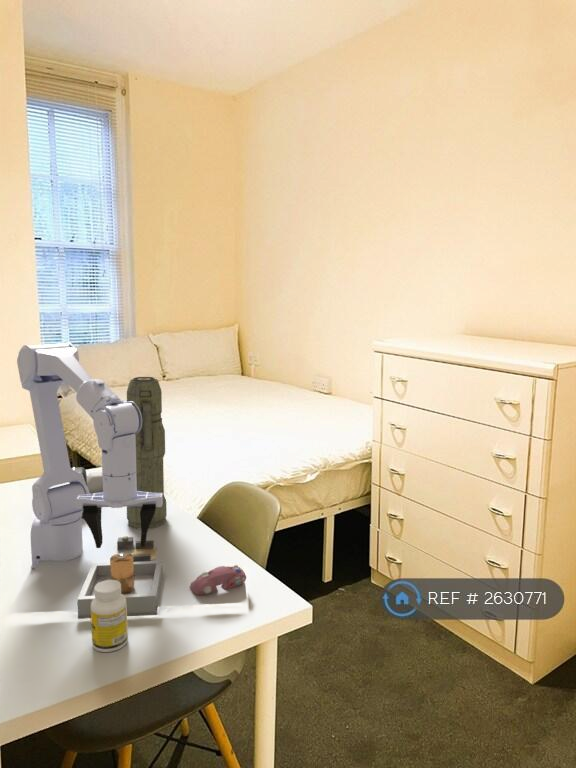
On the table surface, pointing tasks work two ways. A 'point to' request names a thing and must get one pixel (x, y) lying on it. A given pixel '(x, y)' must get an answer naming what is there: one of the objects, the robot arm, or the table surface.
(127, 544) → the brown stand base
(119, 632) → the supplement bottle
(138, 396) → the thermos
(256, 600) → the table surface
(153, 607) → the tray
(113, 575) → the cell
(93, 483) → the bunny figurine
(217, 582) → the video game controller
